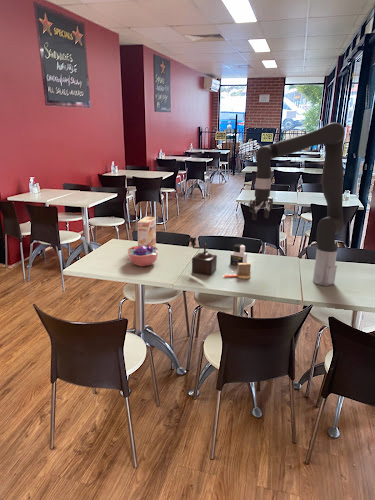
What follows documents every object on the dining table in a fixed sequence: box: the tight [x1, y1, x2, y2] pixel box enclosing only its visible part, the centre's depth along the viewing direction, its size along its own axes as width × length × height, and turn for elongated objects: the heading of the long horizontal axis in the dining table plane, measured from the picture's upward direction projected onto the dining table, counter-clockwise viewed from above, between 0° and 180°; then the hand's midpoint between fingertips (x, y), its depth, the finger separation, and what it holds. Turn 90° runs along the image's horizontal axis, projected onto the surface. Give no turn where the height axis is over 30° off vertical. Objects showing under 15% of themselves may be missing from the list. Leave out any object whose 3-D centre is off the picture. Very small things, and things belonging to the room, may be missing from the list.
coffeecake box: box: [137, 216, 157, 248], centre depth 228 cm, size 15×7×20 cm, turn 167°
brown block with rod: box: [223, 262, 252, 280], centre depth 186 cm, size 14×7×7 cm, turn 98°
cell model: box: [127, 245, 159, 267], centre depth 205 cm, size 17×20×11 cm
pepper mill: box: [188, 236, 218, 277], centre depth 193 cm, size 16×11×18 cm
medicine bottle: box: [229, 243, 248, 267], centre depth 205 cm, size 7×7×12 cm
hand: (260, 218), depth 192 cm, fingers open, 8 cm apart
